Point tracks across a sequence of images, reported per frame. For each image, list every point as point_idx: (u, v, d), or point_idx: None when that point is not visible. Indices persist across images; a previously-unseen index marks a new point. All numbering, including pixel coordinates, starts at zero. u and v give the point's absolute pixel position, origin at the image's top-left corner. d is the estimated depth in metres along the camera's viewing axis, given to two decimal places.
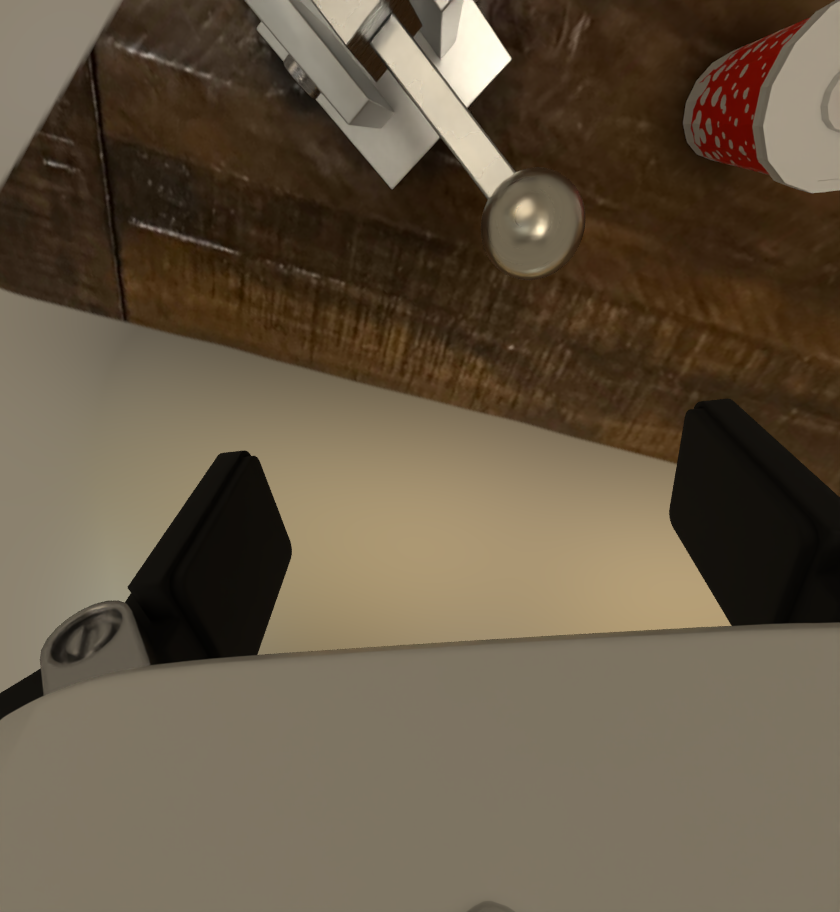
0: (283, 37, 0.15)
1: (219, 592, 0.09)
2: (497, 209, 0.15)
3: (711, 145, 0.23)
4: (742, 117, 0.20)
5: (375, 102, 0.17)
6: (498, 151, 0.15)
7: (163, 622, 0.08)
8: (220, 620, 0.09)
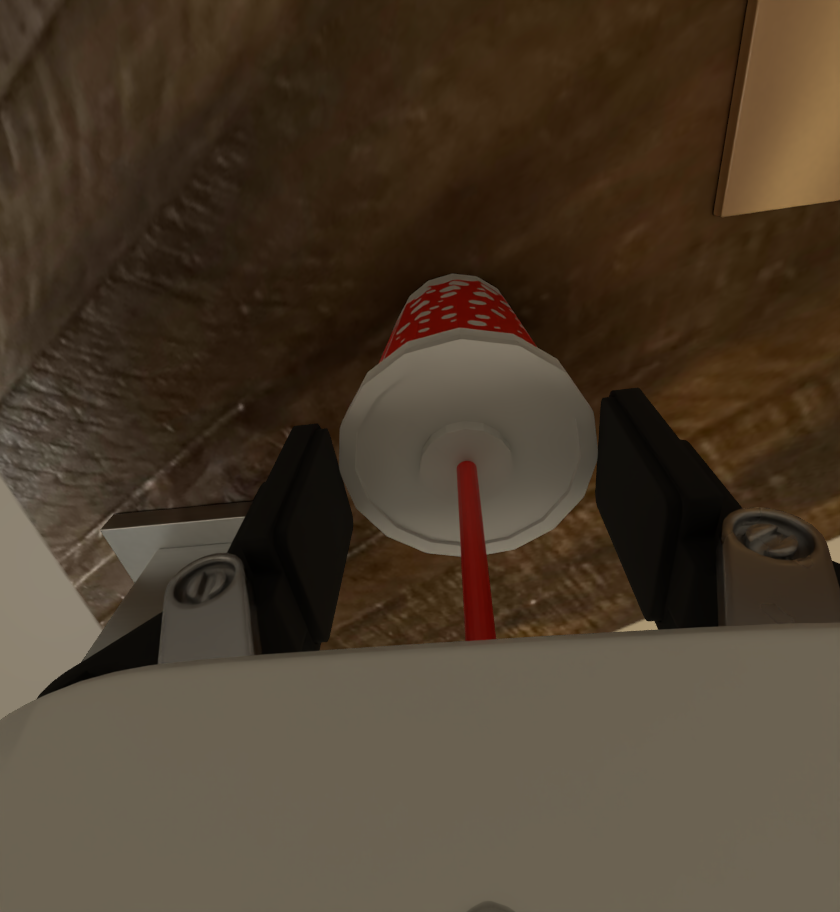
0: None
1: (308, 550, 0.09)
2: None
3: None
4: None
5: None
6: None
7: (265, 574, 0.08)
8: (310, 576, 0.09)
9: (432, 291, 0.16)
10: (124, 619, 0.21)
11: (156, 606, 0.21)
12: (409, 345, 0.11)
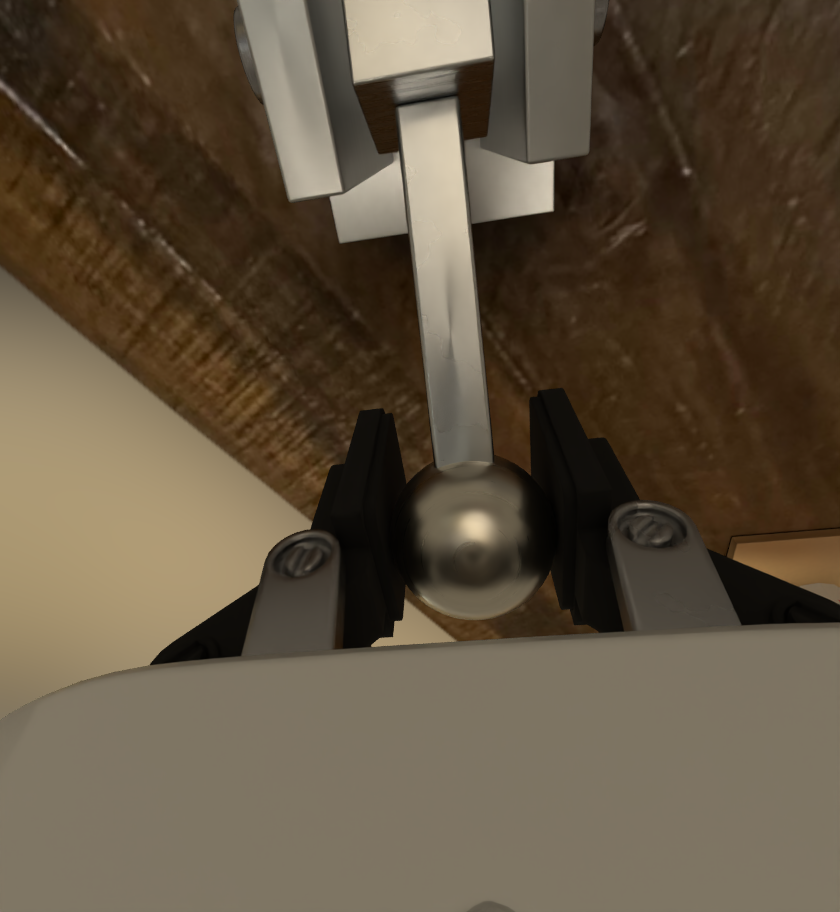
0: None
1: (387, 529, 0.09)
2: (438, 515, 0.08)
3: None
4: None
5: (359, 182, 0.10)
6: (487, 417, 0.09)
7: (353, 551, 0.09)
8: (390, 555, 0.09)
9: None
10: None
11: None
12: None
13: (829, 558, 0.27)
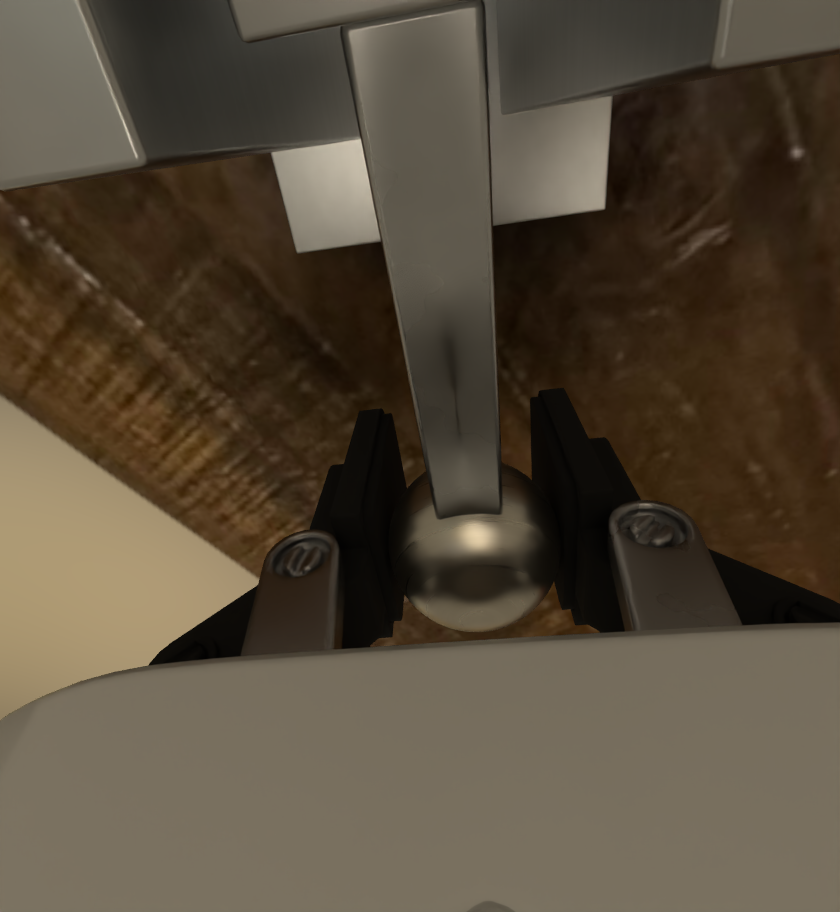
0: None
1: (387, 530, 0.09)
2: (444, 584, 0.08)
3: None
4: None
5: (252, 148, 0.04)
6: (499, 481, 0.07)
7: (352, 551, 0.09)
8: None
9: None
10: None
11: None
12: None
13: None
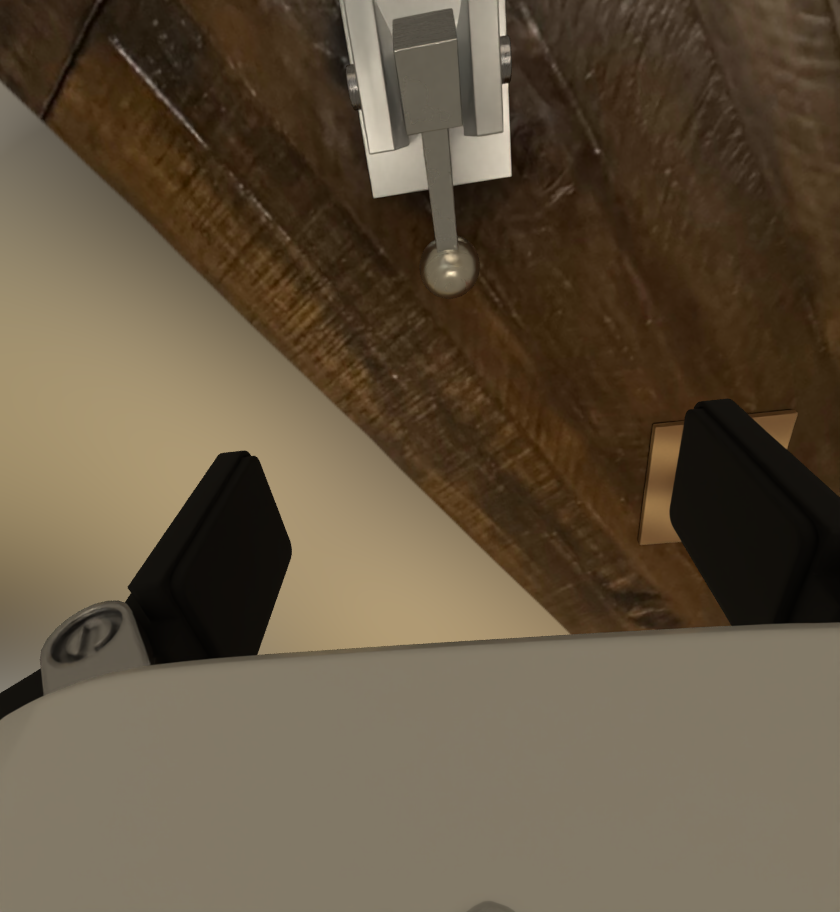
0: (358, 57, 0.17)
1: (219, 592, 0.09)
2: (440, 274, 0.25)
3: None
4: None
5: (398, 148, 0.20)
6: (456, 235, 0.24)
7: (163, 622, 0.08)
8: (220, 620, 0.09)
9: None
10: None
11: None
12: None
13: None
